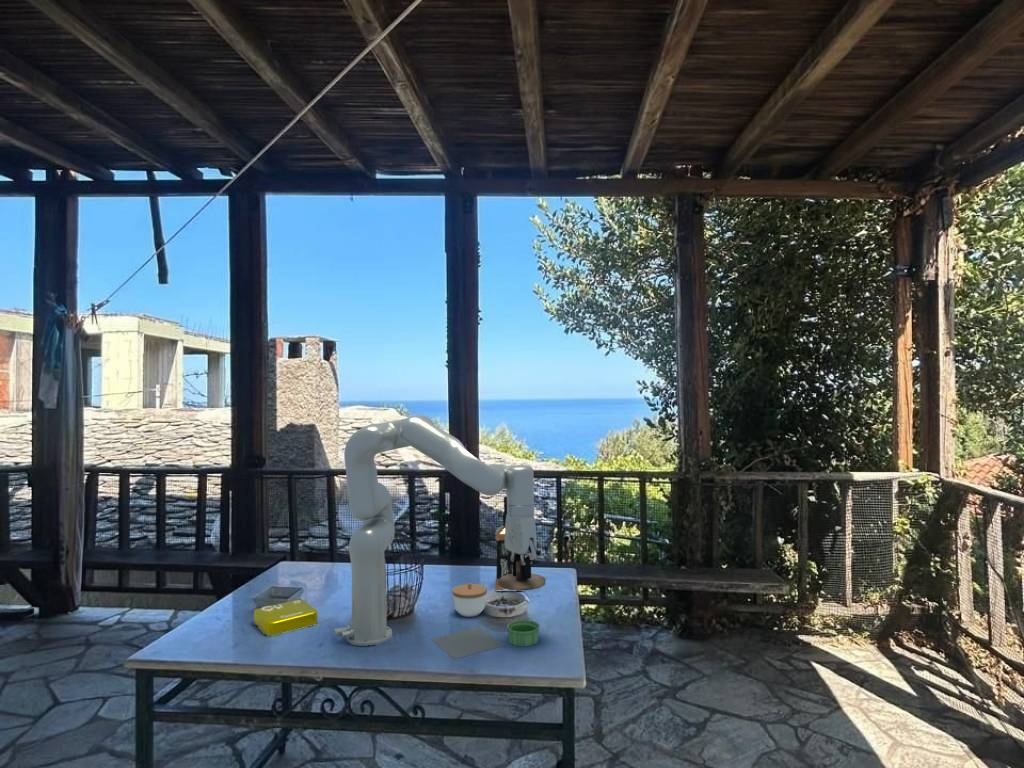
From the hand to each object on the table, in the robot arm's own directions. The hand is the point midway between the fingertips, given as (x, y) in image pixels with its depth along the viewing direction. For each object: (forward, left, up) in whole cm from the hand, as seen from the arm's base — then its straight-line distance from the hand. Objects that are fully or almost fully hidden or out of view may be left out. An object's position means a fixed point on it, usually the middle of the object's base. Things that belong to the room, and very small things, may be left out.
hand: (521, 576), depth 162 cm
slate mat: (-14, +7, -18) cm, 23 cm away
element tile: (-52, +50, -18) cm, 75 cm away
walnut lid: (0, 0, -2) cm, 2 cm away
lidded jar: (-3, +26, -18) cm, 32 cm away
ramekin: (0, 0, -18) cm, 18 cm away
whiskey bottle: (+21, +41, -18) cm, 49 cm away
